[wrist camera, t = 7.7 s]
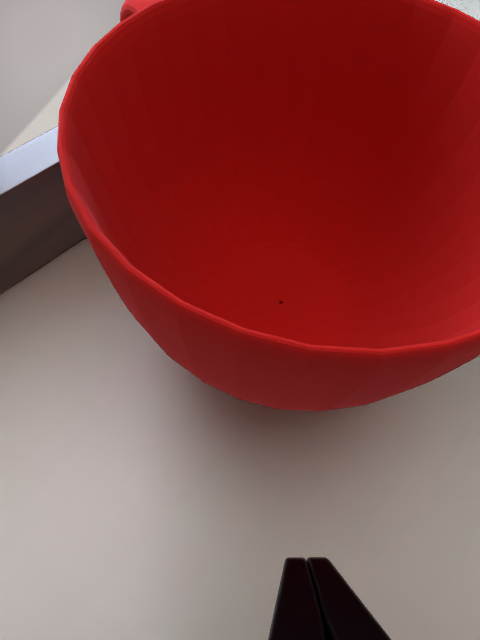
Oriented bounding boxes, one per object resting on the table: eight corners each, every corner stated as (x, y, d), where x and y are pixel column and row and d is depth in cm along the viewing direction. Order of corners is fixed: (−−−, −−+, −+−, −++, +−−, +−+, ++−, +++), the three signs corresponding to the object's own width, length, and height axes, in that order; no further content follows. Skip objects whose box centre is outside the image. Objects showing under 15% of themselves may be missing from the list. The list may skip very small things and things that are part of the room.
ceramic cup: (253, 124, 25) (272, -109, 16) (482, 339, 19) (719, 163, 10) (45, 222, 21) (-88, -13, 12) (252, 531, 15) (298, 529, 6)
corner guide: (669, 417, 17) (802, 383, 13) (345, 1064, 10) (429, 1427, 6) (232, 110, 25) (234, 30, 21) (-139, 344, 17) (-247, 287, 13)
